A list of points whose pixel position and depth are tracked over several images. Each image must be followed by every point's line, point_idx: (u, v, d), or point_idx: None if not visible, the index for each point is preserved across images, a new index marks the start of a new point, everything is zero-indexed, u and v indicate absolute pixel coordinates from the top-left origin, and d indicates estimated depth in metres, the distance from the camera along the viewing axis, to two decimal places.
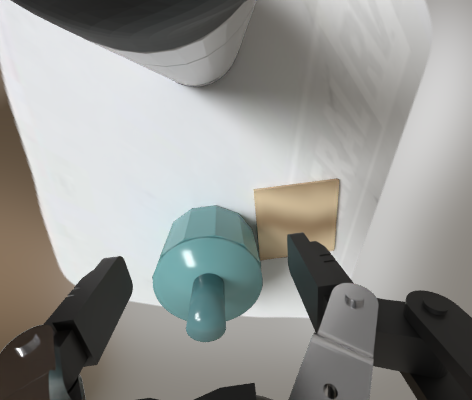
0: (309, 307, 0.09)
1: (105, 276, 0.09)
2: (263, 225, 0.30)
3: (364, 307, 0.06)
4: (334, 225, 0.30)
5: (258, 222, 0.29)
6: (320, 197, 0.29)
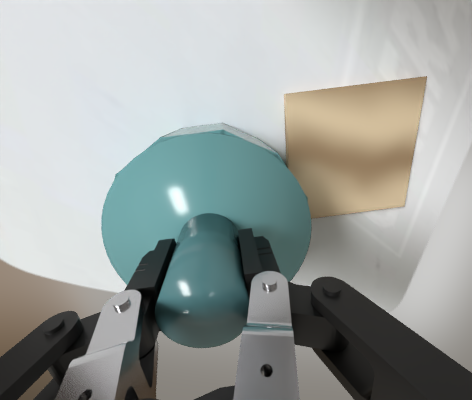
0: None
1: (167, 254, 0.10)
2: (298, 159, 0.18)
3: (274, 290, 0.07)
4: (409, 162, 0.19)
5: (290, 153, 0.18)
6: (393, 109, 0.17)
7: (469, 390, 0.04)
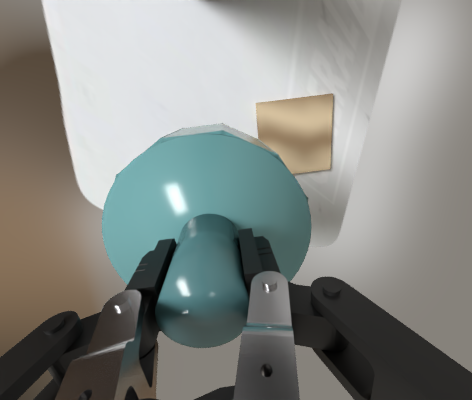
0: None
1: (167, 254, 0.10)
2: (264, 139, 0.32)
3: (274, 290, 0.07)
4: (330, 142, 0.33)
5: (260, 136, 0.32)
6: (316, 111, 0.31)
7: (470, 390, 0.04)
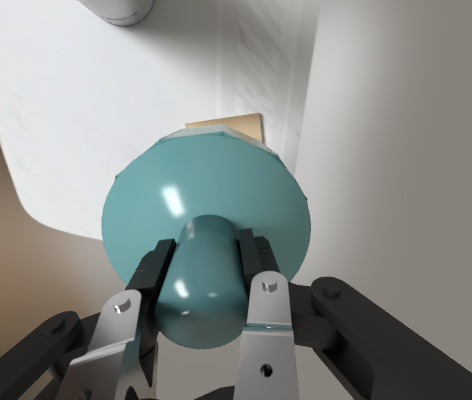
0: None
1: (167, 254, 0.10)
2: None
3: (274, 290, 0.07)
4: None
5: None
6: (245, 130, 0.33)
7: (469, 390, 0.04)
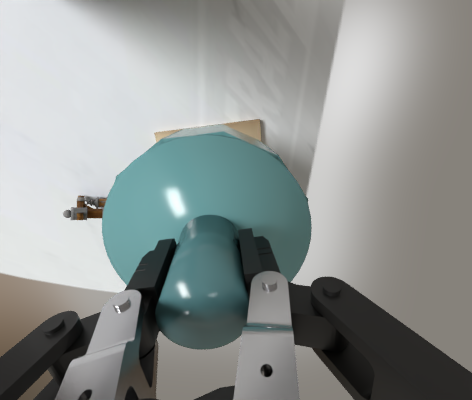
0: None
1: (167, 254, 0.10)
2: None
3: (274, 290, 0.07)
4: None
5: None
6: None
7: (469, 390, 0.04)
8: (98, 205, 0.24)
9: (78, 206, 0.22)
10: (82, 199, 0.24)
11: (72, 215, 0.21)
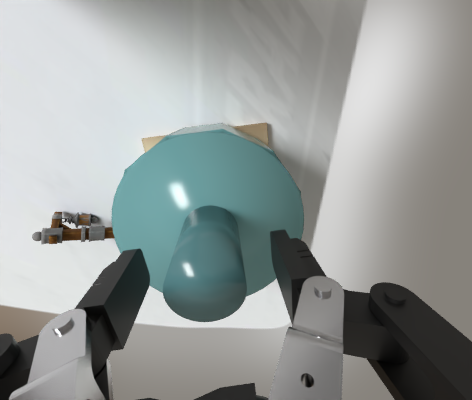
0: (287, 300, 0.09)
1: (127, 266, 0.10)
2: None
3: (330, 298, 0.07)
4: None
5: None
6: None
7: None
8: (78, 223, 0.21)
9: (52, 226, 0.19)
10: (58, 216, 0.20)
11: (43, 238, 0.18)
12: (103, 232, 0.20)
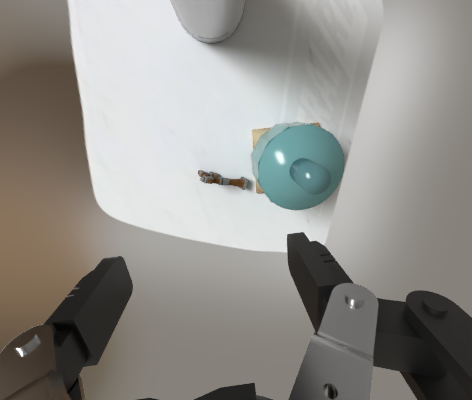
0: (309, 307, 0.09)
1: (105, 276, 0.09)
2: None
3: (364, 307, 0.06)
4: None
5: None
6: None
7: None
8: (211, 176, 0.37)
9: (205, 175, 0.35)
10: (203, 172, 0.37)
11: (206, 180, 0.34)
12: (229, 180, 0.36)
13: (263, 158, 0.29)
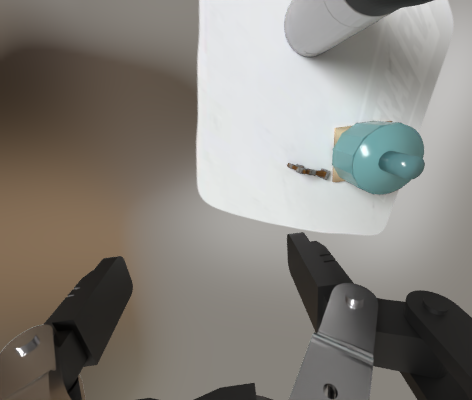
0: (309, 307, 0.09)
1: (105, 276, 0.09)
2: None
3: (364, 307, 0.06)
4: None
5: None
6: None
7: None
8: None
9: (297, 167, 0.42)
10: None
11: (301, 170, 0.41)
12: (316, 171, 0.43)
13: (359, 151, 0.36)
